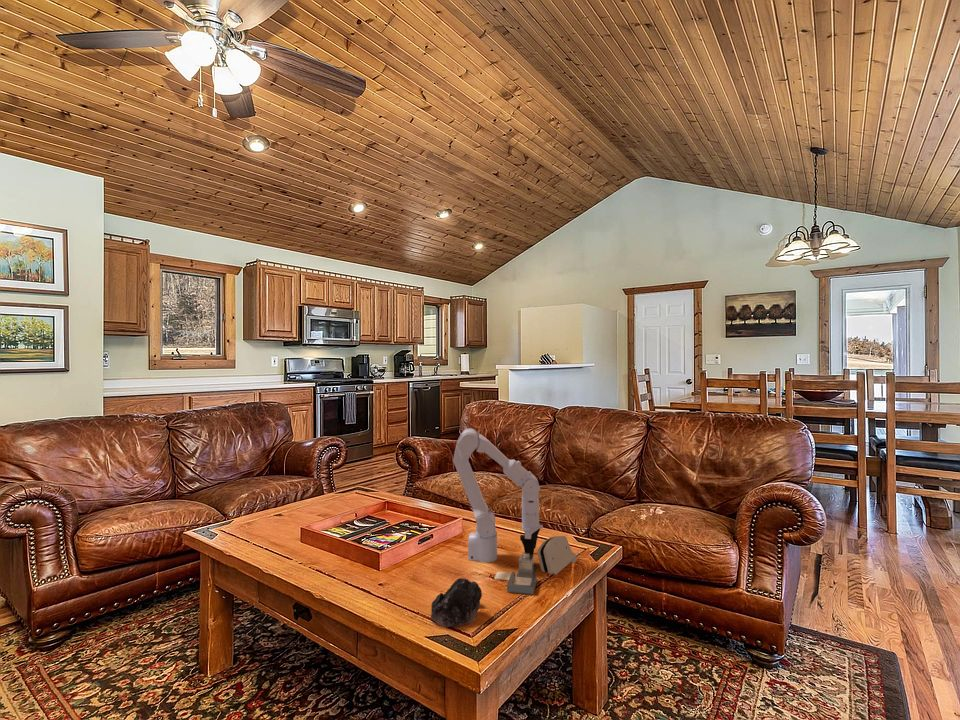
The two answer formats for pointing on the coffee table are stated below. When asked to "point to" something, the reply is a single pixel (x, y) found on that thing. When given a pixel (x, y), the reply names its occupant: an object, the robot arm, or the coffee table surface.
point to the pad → (503, 575)
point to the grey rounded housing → (555, 554)
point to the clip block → (526, 563)
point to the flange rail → (522, 582)
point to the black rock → (457, 604)
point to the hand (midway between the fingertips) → (530, 552)
